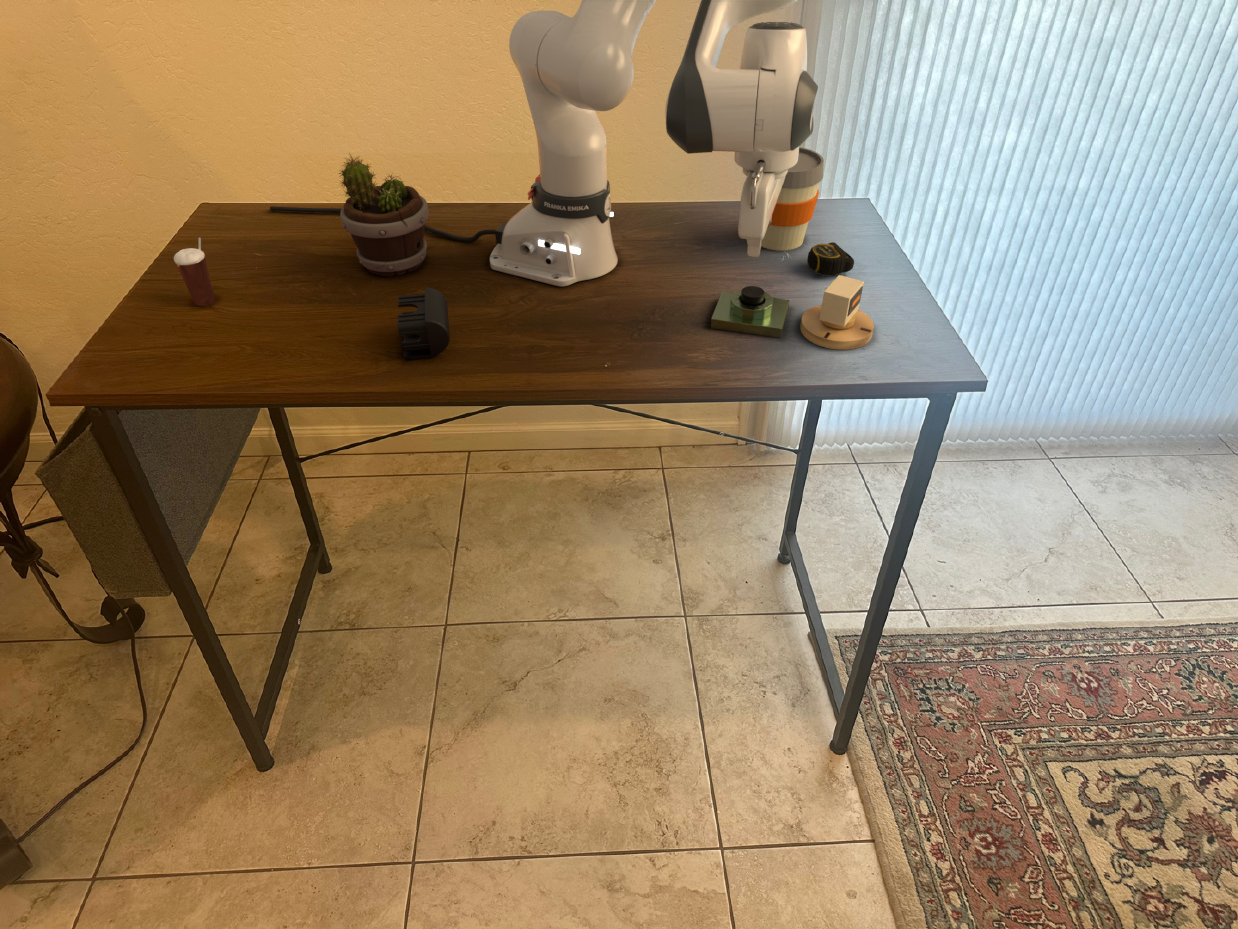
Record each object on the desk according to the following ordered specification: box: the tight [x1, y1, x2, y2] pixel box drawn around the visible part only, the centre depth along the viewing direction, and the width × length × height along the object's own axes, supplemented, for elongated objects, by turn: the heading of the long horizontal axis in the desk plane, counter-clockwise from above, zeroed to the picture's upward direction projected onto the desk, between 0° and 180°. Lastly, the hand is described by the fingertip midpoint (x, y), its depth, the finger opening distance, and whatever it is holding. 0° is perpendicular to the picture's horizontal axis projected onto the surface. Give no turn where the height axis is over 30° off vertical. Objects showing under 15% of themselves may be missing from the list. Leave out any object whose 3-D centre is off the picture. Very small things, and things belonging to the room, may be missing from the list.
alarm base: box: [710, 289, 790, 339], centre depth 136 cm, size 11×9×4 cm
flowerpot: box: [337, 152, 430, 277], centre depth 145 cm, size 14×15×20 cm
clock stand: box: [799, 304, 875, 351], centre depth 133 cm, size 11×11×2 cm
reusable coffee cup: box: [761, 146, 825, 252], centre depth 153 cm, size 13×13×15 cm
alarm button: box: [740, 285, 766, 306], centre depth 134 cm, size 4×4×2 cm
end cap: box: [397, 287, 450, 361], centre depth 130 cm, size 10×7×7 cm
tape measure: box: [806, 242, 855, 277], centre depth 147 cm, size 7×7×4 cm
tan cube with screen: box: [819, 274, 865, 329], centre depth 131 cm, size 5×6×6 cm
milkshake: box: [173, 237, 216, 307], centre depth 139 cm, size 5×5×10 cm
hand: (759, 239), depth 128 cm, fingers open, 8 cm apart
